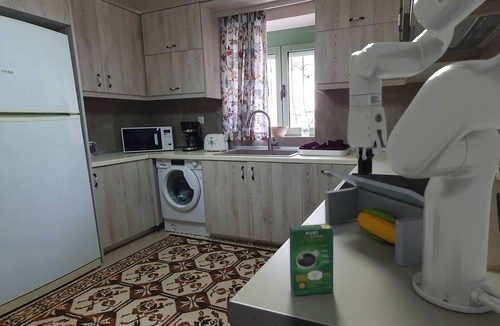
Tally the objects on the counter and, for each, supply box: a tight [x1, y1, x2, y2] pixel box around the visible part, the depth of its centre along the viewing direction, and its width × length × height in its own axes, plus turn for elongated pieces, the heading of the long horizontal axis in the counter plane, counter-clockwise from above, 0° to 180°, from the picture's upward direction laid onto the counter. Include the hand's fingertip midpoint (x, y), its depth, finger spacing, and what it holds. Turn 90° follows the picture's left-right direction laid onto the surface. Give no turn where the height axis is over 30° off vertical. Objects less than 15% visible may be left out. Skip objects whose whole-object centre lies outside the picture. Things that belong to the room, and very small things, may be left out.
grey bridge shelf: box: [324, 186, 423, 268], centre depth 79 cm, size 31×12×10 cm, turn 17°
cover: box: [328, 169, 424, 207], centre depth 78 cm, size 31×12×1 cm, turn 17°
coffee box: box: [289, 223, 335, 297], centre depth 56 cm, size 8×3×13 cm, turn 93°
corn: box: [356, 208, 396, 245], centre depth 77 cm, size 7×8×20 cm
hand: (365, 173), depth 77 cm, fingers closed
